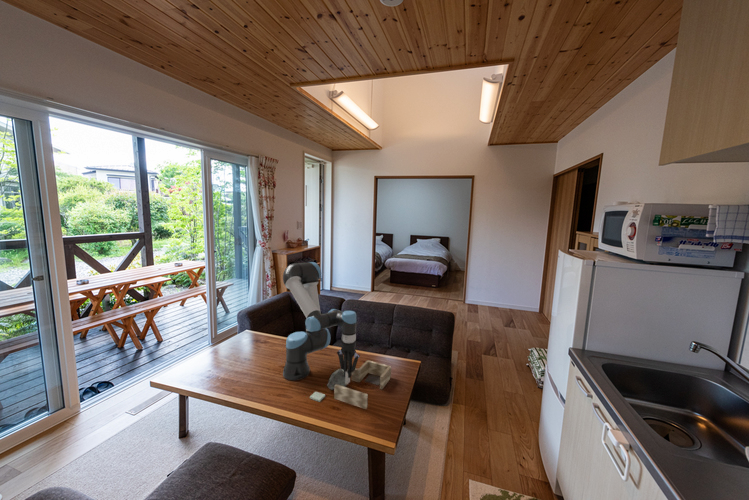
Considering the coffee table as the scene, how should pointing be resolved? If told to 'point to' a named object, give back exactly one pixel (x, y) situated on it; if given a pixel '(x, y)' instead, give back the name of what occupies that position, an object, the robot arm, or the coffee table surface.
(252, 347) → the coffee table surface
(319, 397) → the pad
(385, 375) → the wooden wall enclosure
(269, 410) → the coffee table surface
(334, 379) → the stone
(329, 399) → the coffee table surface
